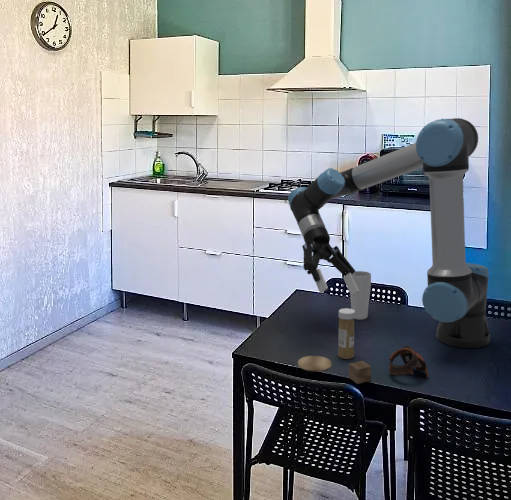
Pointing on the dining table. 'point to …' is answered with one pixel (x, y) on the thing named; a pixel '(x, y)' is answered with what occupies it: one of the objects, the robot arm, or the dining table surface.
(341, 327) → the sprinkles bottle
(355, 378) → the walnut block
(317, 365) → the cork coaster
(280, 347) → the dining table surface
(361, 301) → the drinking glass
